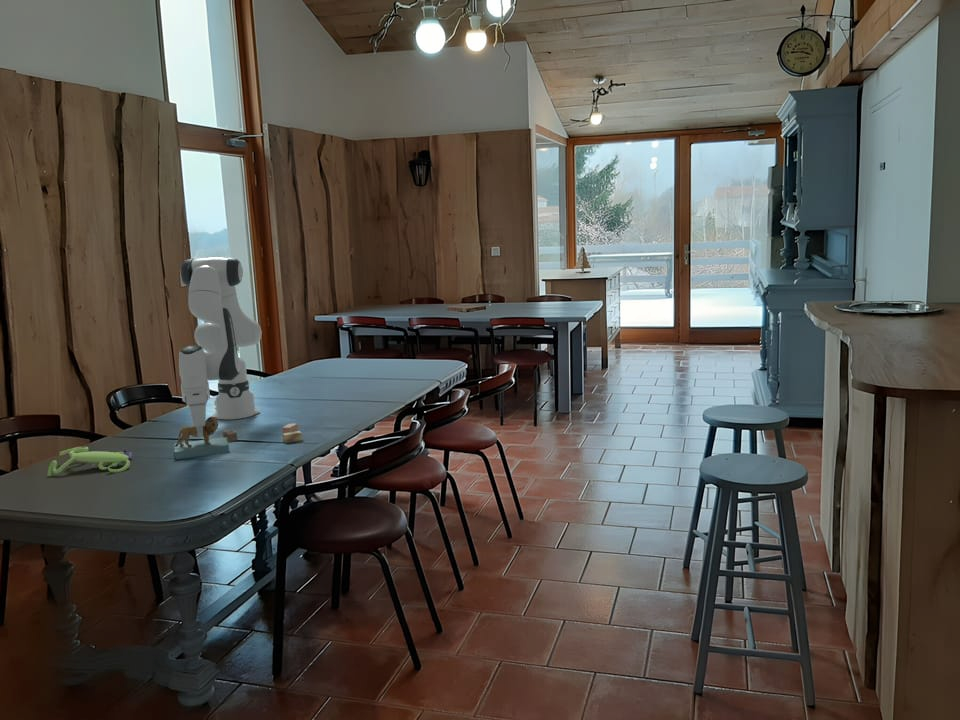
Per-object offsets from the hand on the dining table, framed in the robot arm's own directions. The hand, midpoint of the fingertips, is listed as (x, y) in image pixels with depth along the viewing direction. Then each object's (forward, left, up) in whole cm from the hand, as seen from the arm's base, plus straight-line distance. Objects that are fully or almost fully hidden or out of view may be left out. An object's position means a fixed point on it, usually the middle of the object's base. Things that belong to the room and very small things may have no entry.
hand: (200, 434), depth 266 cm
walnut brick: (-12, +10, -6) cm, 17 cm away
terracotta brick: (-10, +31, -6) cm, 33 cm away
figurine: (0, -34, -7) cm, 34 cm away
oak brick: (+2, +30, -6) cm, 31 cm away
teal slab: (0, 0, -6) cm, 6 cm away
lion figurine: (0, -1, -4) cm, 4 cm away
